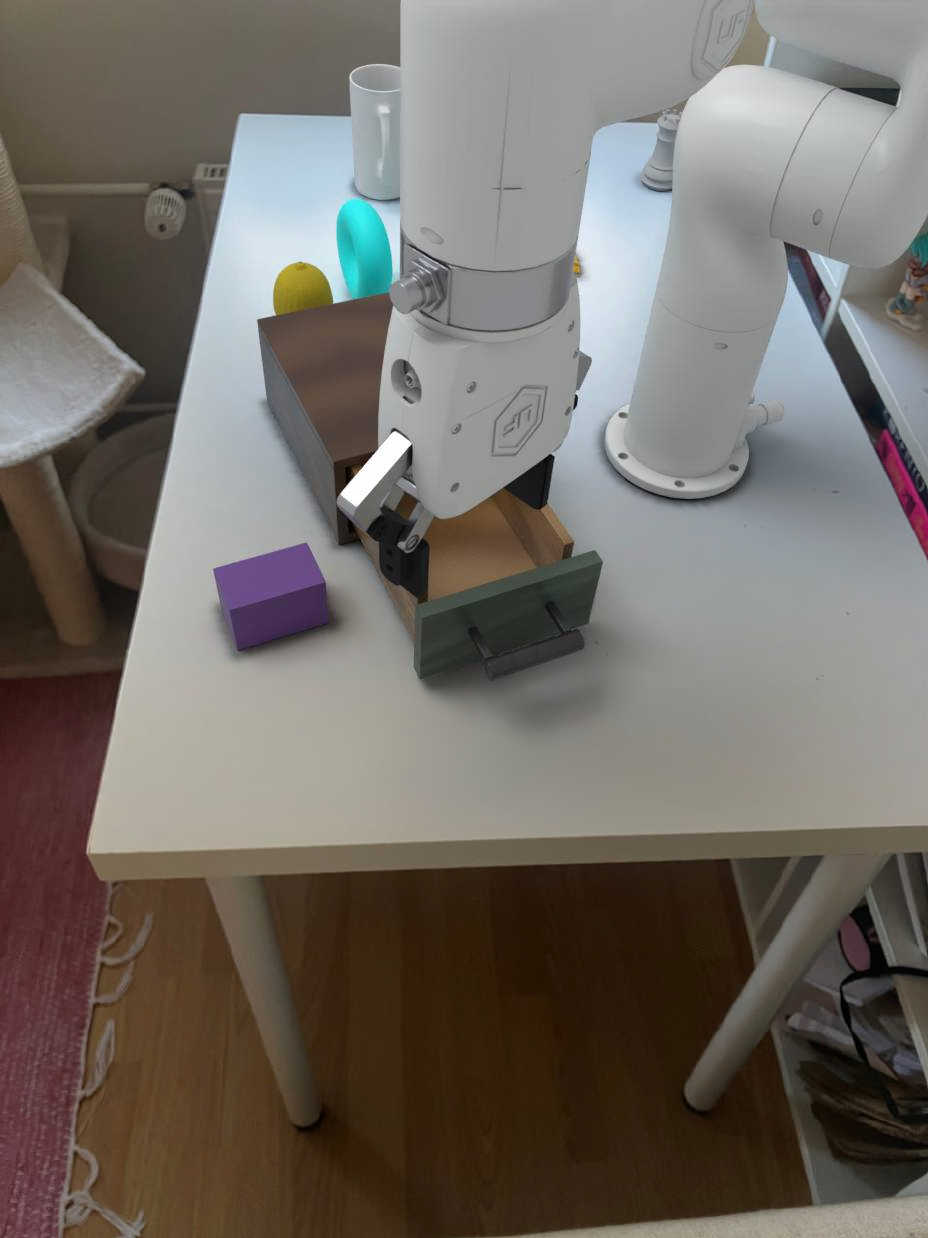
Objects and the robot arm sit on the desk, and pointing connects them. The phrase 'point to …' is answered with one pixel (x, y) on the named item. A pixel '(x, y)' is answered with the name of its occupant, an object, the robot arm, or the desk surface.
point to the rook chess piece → (662, 154)
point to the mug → (376, 130)
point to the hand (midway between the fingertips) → (465, 537)
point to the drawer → (494, 587)
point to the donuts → (363, 249)
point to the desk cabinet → (327, 391)
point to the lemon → (300, 289)
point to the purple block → (272, 595)
